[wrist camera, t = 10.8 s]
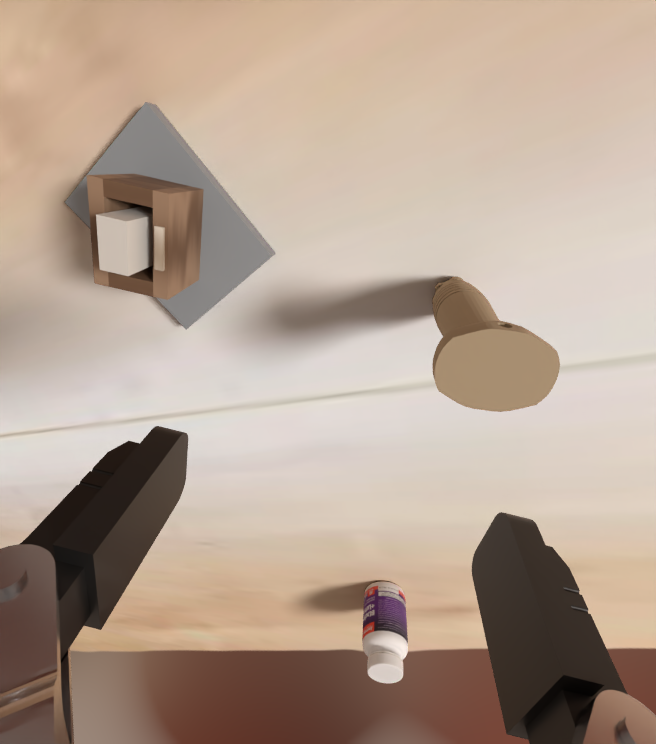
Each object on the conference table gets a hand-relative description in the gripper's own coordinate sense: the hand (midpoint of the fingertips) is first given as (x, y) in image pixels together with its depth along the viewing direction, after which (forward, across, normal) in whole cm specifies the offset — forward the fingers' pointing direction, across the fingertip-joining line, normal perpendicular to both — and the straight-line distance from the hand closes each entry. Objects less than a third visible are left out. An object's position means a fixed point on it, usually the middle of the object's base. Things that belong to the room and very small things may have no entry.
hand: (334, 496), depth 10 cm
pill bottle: (+28, -13, +42) cm, 52 cm away
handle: (+28, -8, +1) cm, 29 cm away
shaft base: (+27, +17, +1) cm, 32 cm away
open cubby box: (+26, +17, +1) cm, 31 cm away
